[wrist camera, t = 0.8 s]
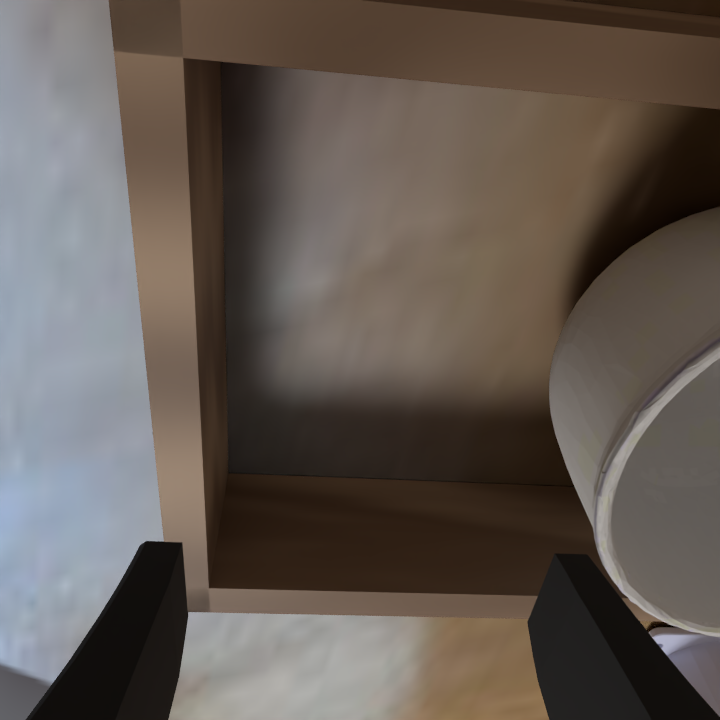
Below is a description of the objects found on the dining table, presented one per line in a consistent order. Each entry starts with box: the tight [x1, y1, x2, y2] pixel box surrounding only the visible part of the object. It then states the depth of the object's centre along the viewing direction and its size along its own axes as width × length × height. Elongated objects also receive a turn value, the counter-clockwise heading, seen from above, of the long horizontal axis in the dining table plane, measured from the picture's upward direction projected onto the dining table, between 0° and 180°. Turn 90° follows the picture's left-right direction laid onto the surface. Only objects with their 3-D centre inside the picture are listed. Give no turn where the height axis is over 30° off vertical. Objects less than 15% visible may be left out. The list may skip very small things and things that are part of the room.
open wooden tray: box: [109, 0, 720, 622], centre depth 19 cm, size 17×24×5 cm
